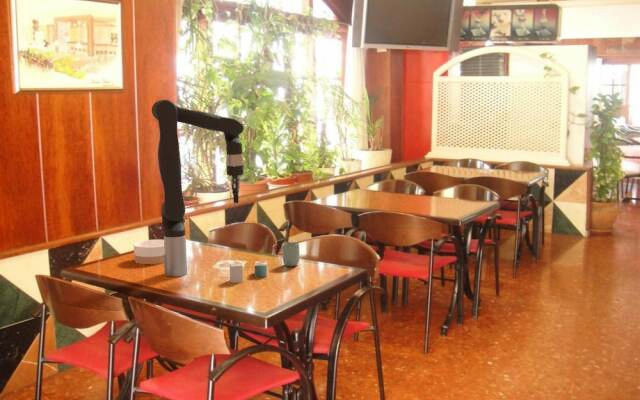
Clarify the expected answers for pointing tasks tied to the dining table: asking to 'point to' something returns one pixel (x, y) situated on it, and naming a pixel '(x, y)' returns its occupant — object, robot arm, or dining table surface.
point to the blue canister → (261, 269)
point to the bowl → (149, 251)
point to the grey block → (236, 273)
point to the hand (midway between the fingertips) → (236, 202)
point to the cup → (290, 253)
